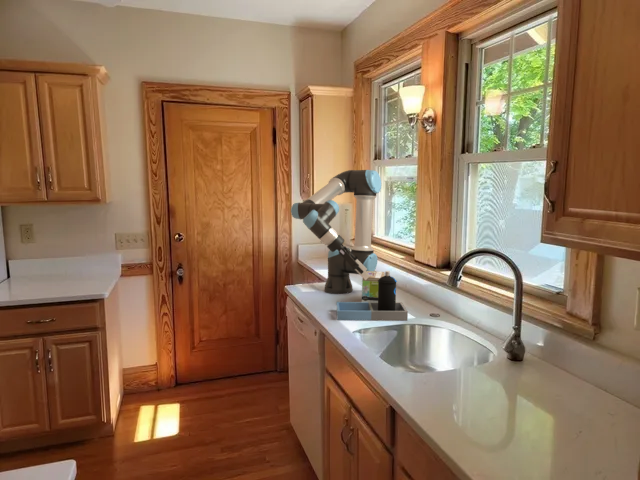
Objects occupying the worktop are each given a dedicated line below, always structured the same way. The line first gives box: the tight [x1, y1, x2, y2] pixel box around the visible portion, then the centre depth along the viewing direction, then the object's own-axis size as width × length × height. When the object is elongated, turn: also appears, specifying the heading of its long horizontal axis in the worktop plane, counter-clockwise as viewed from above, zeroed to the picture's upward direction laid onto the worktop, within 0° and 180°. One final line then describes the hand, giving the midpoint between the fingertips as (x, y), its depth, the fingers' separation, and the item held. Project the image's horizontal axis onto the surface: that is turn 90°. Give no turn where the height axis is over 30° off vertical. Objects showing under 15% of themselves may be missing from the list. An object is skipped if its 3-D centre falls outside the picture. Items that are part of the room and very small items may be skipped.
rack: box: [336, 301, 409, 322], centre depth 193 cm, size 14×30×4 cm, turn 89°
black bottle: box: [378, 270, 398, 311], centre depth 192 cm, size 8×8×20 cm
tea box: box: [361, 271, 385, 302], centre depth 211 cm, size 15×10×15 cm
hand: (366, 274), depth 190 cm, fingers open, 13 cm apart
